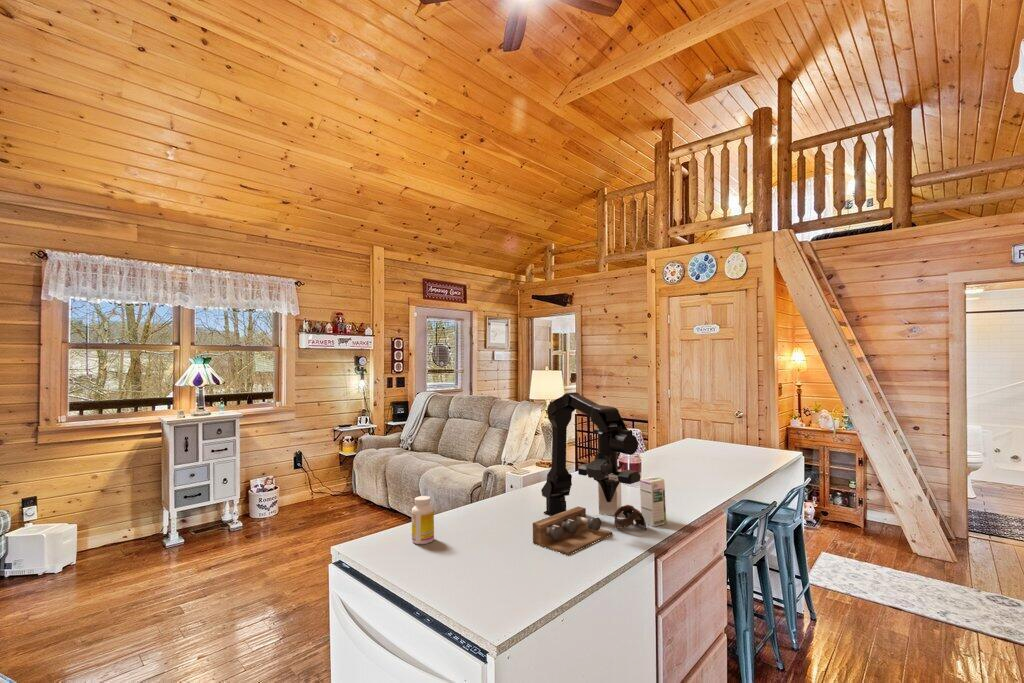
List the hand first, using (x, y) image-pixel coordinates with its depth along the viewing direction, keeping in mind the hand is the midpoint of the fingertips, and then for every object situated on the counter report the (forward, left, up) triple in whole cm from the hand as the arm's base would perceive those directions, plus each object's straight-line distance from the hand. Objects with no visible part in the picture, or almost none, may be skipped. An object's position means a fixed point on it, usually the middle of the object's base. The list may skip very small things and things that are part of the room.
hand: (608, 501), depth 142 cm
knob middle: (-12, -7, -10) cm, 17 cm away
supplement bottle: (-41, -39, -11) cm, 58 cm away
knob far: (-8, 0, -10) cm, 13 cm away
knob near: (-12, -14, -10) cm, 21 cm away
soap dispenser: (-15, +23, -11) cm, 30 cm away
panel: (-8, -7, -11) cm, 16 cm away
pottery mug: (-1, +13, -12) cm, 17 cm away
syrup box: (+2, +22, -11) cm, 25 cm away
